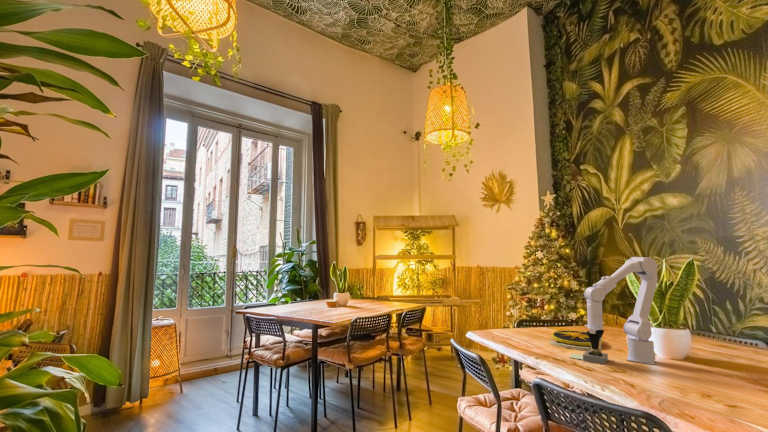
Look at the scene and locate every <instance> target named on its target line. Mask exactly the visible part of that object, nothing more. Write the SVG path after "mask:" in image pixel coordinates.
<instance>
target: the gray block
mask: <svg viewBox="0 0 768 432" xmlns="http://www.w3.org/2000/svg"><path fill="white" fill-rule="evenodd" d="M582 355H583V360H582V362H586V361H588V362H587V363H592V362H593V364H598V363H600V364H599V365H604V364H605V365H606V363H607V362H608V361H609V360H608V359H609V357H608V356H609V355H608V353H606V352H602V357H600V356H594V355H591V351H585V352H584V353H583V354H582Z"/></svg>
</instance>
